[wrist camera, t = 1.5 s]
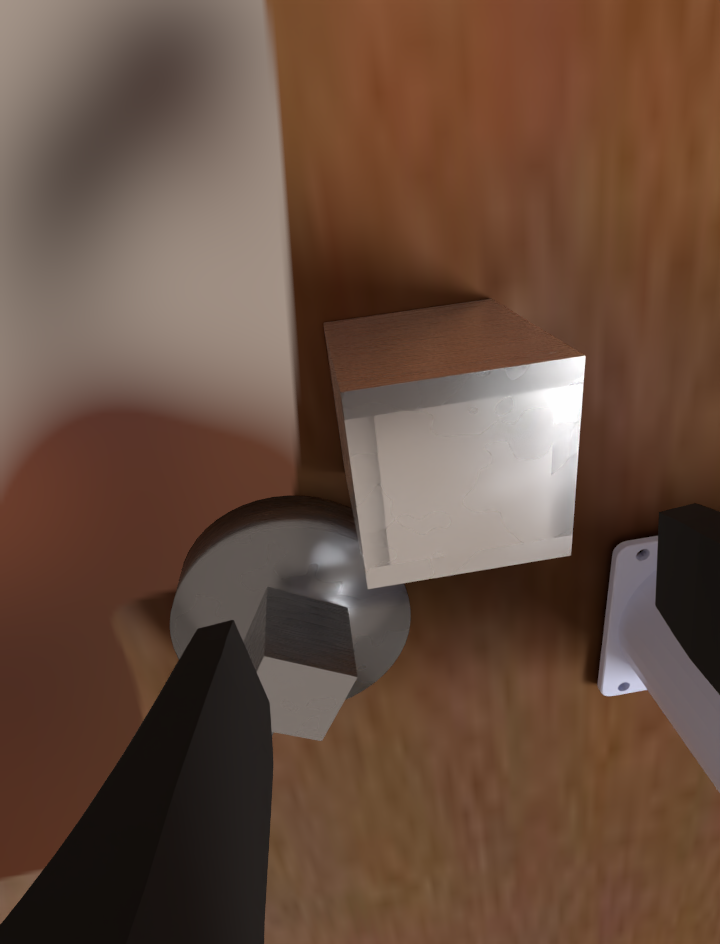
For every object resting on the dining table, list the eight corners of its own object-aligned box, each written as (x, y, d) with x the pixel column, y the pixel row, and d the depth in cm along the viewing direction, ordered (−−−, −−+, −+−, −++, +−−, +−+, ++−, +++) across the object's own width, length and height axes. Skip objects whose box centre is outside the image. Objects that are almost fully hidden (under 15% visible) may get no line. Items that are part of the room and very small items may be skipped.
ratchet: (218, 465, 18) (196, 557, 14) (436, 533, 21) (477, 631, 16) (77, 860, 27) (36, 995, 22) (243, 878, 29) (235, 1004, 25)
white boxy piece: (491, 298, 17) (585, 356, 12) (492, 450, 19) (570, 555, 14) (323, 322, 17) (340, 392, 11) (345, 473, 19) (367, 589, 14)
